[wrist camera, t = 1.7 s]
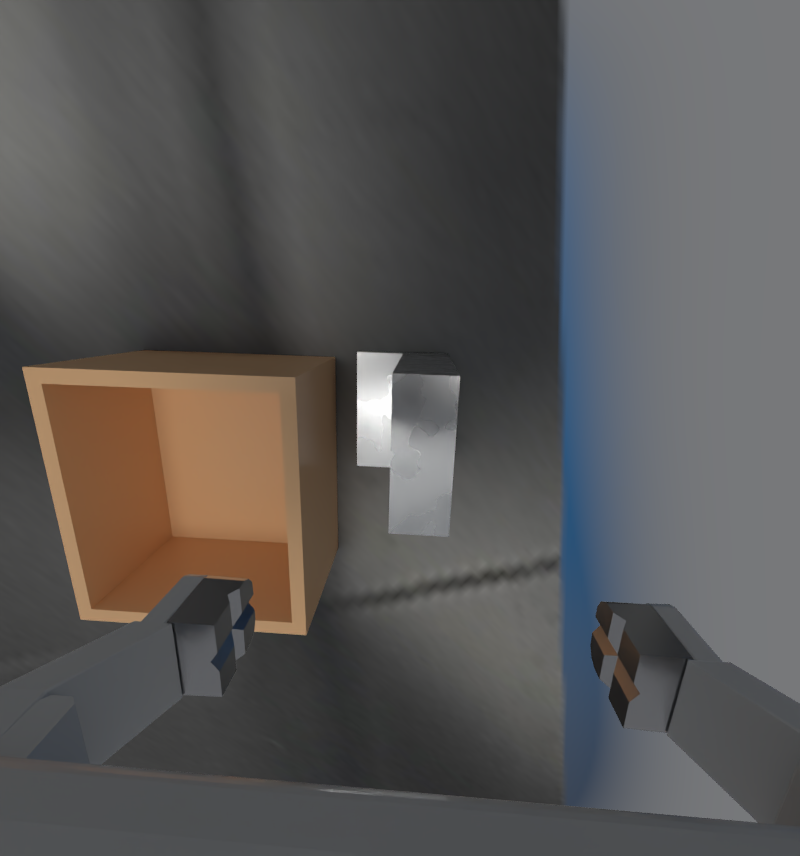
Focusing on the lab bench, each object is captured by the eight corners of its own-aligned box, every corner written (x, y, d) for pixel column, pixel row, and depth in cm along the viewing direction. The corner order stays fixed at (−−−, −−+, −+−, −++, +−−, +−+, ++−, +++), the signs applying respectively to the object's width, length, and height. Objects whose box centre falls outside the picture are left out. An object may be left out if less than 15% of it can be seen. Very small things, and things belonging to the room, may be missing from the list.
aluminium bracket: (440, 463, 30) (448, 536, 20) (359, 459, 30) (328, 530, 20) (447, 353, 27) (460, 376, 18) (359, 350, 28) (325, 370, 18)
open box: (144, 349, 28) (21, 366, 20) (335, 357, 28) (294, 377, 19) (171, 538, 33) (80, 619, 24) (338, 547, 32) (306, 635, 23)
